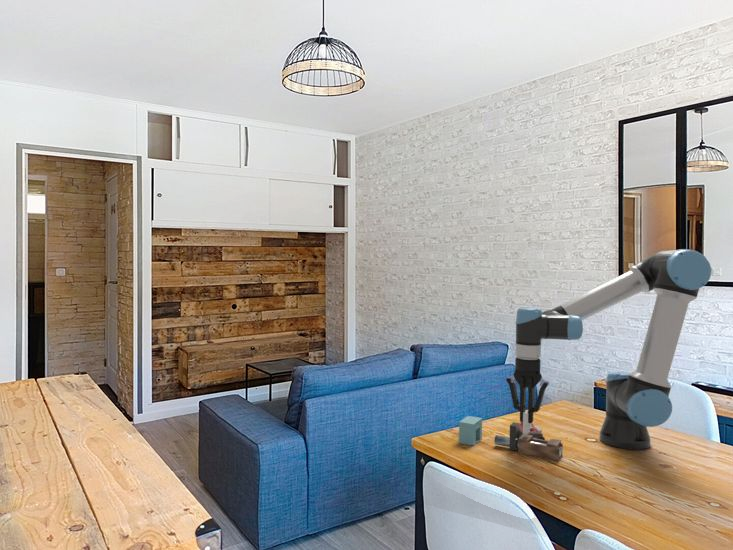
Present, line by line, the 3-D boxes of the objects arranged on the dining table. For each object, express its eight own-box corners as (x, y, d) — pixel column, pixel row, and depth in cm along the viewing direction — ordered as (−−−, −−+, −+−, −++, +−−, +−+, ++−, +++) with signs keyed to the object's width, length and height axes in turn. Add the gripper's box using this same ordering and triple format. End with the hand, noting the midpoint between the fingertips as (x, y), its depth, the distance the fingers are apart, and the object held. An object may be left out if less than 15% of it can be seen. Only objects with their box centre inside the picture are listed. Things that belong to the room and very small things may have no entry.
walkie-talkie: (551, 444, 174) (530, 425, 194) (551, 430, 174) (530, 413, 194) (524, 444, 174) (506, 425, 194) (524, 430, 174) (506, 413, 194)
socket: (481, 438, 178) (482, 418, 177) (473, 445, 171) (473, 424, 171) (467, 436, 180) (467, 415, 180) (458, 443, 173) (459, 421, 173)
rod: (561, 454, 162) (562, 430, 162) (559, 458, 159) (559, 433, 159) (497, 442, 173) (498, 419, 173) (493, 446, 169) (494, 422, 169)
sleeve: (562, 455, 163) (562, 440, 163) (558, 461, 158) (558, 445, 158) (523, 448, 169) (523, 433, 169) (518, 453, 164) (518, 438, 164)
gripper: (552, 357, 165) (550, 433, 166) (510, 353, 172) (508, 425, 172) (546, 361, 159) (544, 439, 159) (503, 357, 165) (502, 432, 166)
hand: (526, 432), depth 166 cm, fingers closed
